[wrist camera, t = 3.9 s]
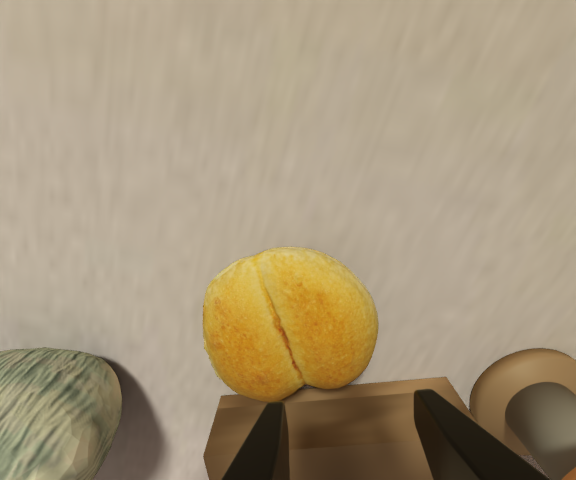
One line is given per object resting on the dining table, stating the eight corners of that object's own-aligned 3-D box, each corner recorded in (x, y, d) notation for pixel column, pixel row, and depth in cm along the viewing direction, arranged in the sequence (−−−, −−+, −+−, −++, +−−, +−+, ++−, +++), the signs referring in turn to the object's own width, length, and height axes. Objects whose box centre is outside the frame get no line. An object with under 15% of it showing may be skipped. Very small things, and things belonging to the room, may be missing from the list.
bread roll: (384, 354, 18) (405, 413, 14) (239, 382, 19) (222, 443, 15) (354, 221, 15) (369, 247, 12) (190, 263, 17) (156, 299, 13)
